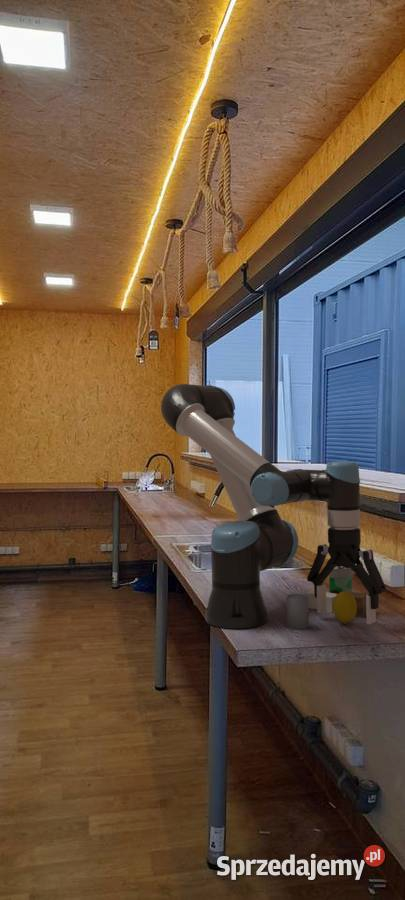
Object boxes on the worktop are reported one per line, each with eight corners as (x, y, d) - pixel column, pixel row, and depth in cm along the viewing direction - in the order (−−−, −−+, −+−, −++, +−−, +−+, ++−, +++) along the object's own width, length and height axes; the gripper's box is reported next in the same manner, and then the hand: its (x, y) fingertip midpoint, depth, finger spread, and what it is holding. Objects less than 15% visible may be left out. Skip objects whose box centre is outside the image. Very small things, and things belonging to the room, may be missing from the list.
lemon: (360, 627, 147) (359, 592, 147) (336, 628, 146) (336, 593, 146) (352, 620, 152) (352, 587, 152) (330, 621, 152) (329, 588, 152)
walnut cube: (363, 618, 154) (362, 597, 154) (342, 615, 157) (342, 595, 157) (367, 612, 159) (366, 593, 159) (347, 610, 161) (347, 591, 161)
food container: (353, 609, 162) (353, 570, 161) (329, 608, 163) (328, 569, 163) (356, 597, 173) (356, 561, 173) (333, 596, 175) (333, 560, 175)
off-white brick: (331, 613, 159) (331, 597, 159) (305, 607, 165) (305, 592, 165) (340, 610, 162) (340, 594, 162) (314, 604, 168) (314, 589, 168)
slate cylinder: (300, 631, 145) (299, 600, 144) (282, 626, 148) (282, 597, 148) (312, 626, 148) (312, 596, 148) (295, 621, 152) (295, 592, 151)
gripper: (400, 529, 143) (402, 623, 143) (310, 521, 160) (311, 604, 161) (383, 533, 137) (385, 631, 138) (291, 524, 155) (293, 610, 156)
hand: (345, 617), depth 149 cm, fingers open, 13 cm apart
